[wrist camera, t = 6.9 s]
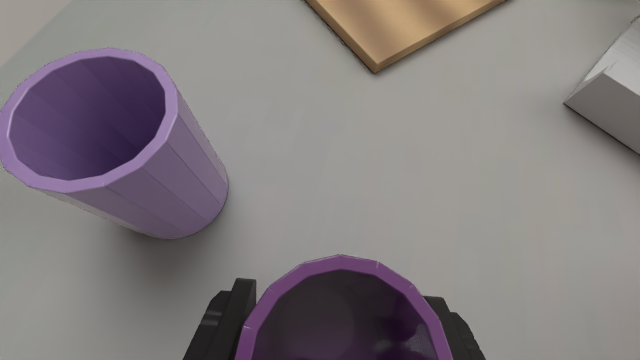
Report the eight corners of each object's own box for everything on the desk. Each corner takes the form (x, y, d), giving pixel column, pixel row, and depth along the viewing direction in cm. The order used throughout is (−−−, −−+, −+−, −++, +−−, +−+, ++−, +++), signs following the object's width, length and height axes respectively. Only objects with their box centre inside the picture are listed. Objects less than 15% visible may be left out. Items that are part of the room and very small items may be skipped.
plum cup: (310, 437, 14) (318, 596, 6) (245, 321, 16) (191, 340, 8) (406, 351, 15) (502, 399, 8) (337, 254, 17) (363, 218, 10)
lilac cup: (150, 261, 16) (24, 228, 9) (109, 177, 18) (-25, 92, 11) (246, 202, 18) (206, 132, 11) (200, 130, 20) (137, 26, 12)
